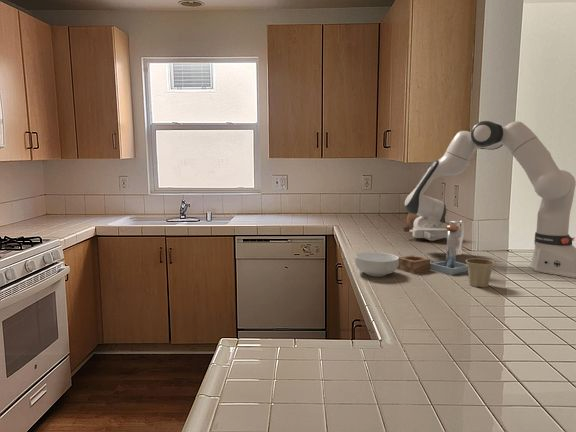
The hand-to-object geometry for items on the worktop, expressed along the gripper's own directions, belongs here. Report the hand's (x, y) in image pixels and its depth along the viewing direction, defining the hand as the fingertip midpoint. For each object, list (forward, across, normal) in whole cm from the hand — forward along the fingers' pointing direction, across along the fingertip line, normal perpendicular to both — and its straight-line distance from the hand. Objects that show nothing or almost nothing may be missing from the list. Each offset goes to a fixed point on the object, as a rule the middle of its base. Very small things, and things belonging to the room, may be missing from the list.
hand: (442, 235), depth 194 cm
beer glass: (-20, +13, +12) cm, 27 cm away
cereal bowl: (+13, -30, +13) cm, 35 cm away
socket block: (+7, -14, +12) cm, 20 cm away
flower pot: (+30, +3, +12) cm, 32 cm away
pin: (+9, 0, +12) cm, 15 cm away
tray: (+9, 0, +12) cm, 15 cm away
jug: (-62, +12, +13) cm, 64 cm away
